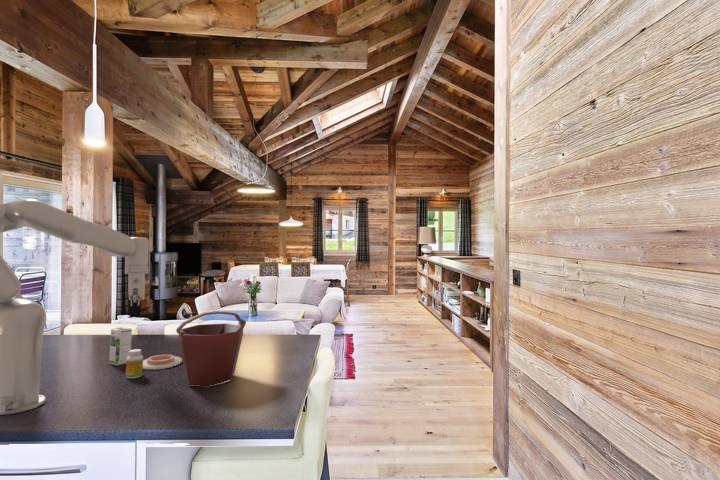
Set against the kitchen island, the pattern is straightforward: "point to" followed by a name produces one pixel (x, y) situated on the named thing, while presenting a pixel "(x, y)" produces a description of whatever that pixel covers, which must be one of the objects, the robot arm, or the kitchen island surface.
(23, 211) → the robot arm
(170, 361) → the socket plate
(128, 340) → the syrup box
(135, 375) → the supplement bottle
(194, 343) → the bucket
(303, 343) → the kitchen island surface
